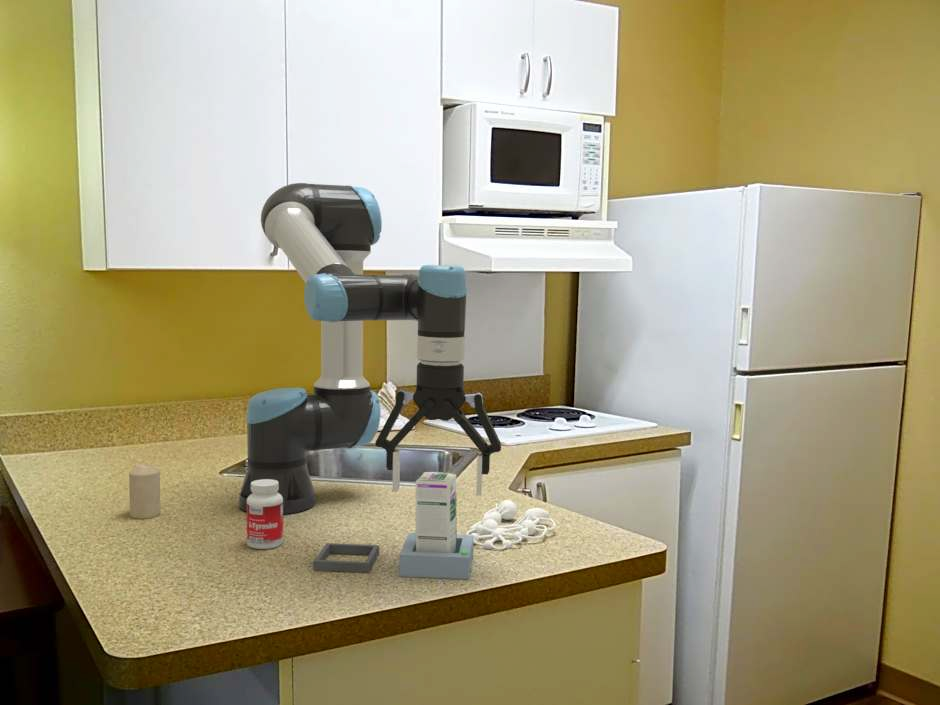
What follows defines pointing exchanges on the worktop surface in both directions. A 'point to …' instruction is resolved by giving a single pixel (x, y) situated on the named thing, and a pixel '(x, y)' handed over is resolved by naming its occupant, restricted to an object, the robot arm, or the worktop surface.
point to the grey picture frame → (346, 566)
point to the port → (437, 560)
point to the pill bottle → (264, 515)
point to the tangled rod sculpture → (508, 511)
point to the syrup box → (436, 512)
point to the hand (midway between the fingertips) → (437, 491)
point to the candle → (144, 491)
